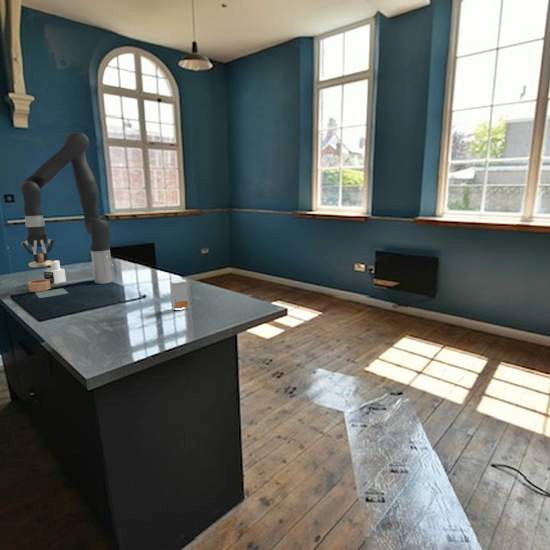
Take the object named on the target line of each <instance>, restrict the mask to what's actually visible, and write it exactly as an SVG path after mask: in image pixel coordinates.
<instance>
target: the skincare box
mask: <svg viewBox="0 0 550 550" xmlns="http://www.w3.org/2000/svg"><path fill="white" fill-rule="evenodd" d="M169 284H170V298H171V308H172V307H173V308H174V309H175V308H182V307H187V306H188V307H189V295H188V281H187V280H186V279H183V278H182V279H176V280H170V281H169Z"/></svg>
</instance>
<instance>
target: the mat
mask: <svg viewBox="0 0 550 550" xmlns="http://www.w3.org/2000/svg"><path fill="white" fill-rule="evenodd" d="M35 294H36V296H37V297H38V299H42V298H47V297H48V298H49V297H55V296H60V295H61V296H62V295H65V294H69V292H68V291H67V290H66V289H64V288H63V287H62V288H57V289H51V290H50V289H48V290H45V291H39V292H35Z"/></svg>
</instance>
